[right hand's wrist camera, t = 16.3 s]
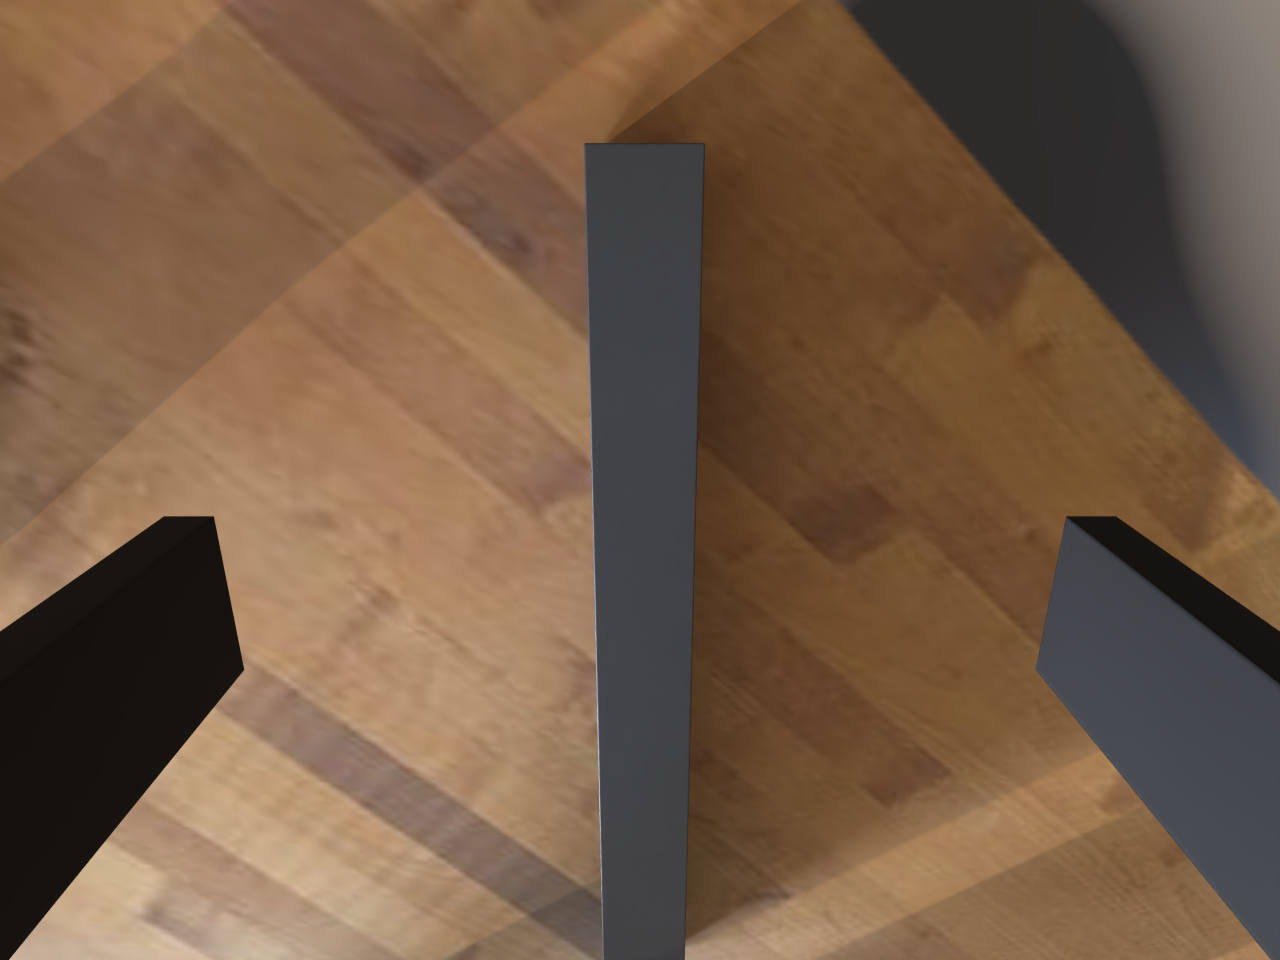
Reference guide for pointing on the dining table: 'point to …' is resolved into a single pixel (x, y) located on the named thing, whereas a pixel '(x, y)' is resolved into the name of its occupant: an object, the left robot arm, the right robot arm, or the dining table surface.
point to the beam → (644, 525)
